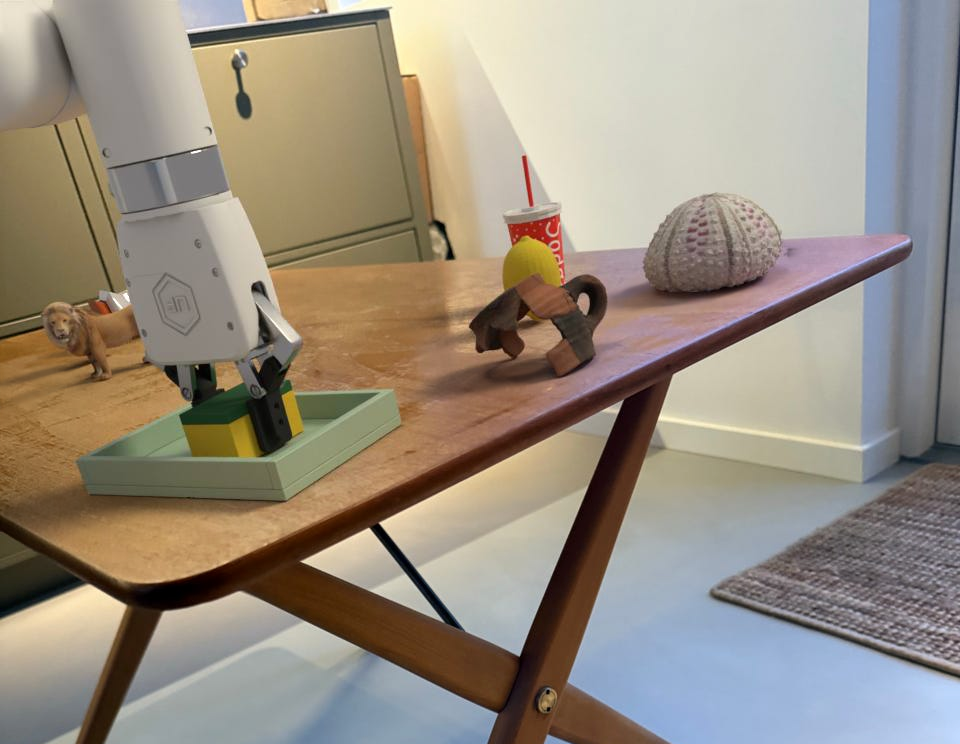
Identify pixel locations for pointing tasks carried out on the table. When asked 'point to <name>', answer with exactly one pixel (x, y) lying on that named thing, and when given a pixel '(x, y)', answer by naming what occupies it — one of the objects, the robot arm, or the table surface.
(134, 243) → the robot arm
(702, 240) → the sea urchin shell
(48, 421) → the table surface
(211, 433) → the sponge
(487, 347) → the brown piece
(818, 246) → the table surface
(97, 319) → the lion figurine
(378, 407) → the tray
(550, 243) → the beverage cup
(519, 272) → the lemon
